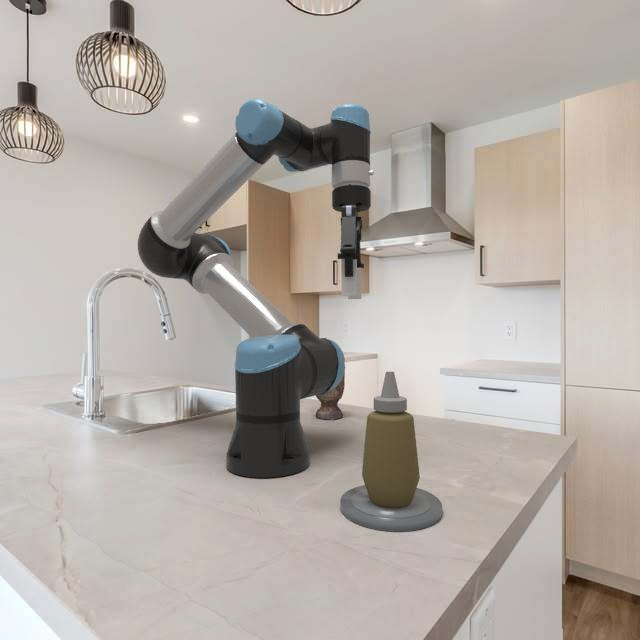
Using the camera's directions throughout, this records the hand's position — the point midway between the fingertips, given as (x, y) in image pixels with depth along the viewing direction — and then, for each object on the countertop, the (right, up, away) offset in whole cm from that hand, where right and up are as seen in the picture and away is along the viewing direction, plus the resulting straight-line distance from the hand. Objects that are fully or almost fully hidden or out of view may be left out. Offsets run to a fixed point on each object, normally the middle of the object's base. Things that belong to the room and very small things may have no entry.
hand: (352, 297), depth 90 cm
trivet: (+4, -31, -25) cm, 40 cm away
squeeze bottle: (+4, -30, -25) cm, 39 cm away
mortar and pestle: (-5, -31, +36) cm, 47 cm away
